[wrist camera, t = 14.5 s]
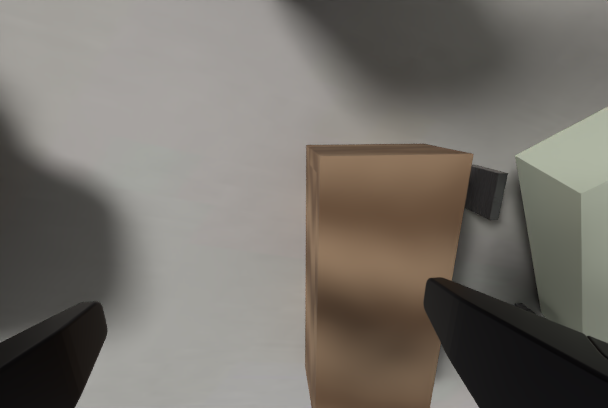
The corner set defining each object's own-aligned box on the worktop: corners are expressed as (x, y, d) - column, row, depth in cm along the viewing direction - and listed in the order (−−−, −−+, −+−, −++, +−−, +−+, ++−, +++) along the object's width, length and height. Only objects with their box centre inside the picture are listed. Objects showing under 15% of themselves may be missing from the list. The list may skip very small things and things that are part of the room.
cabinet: (306, 145, 19) (320, 156, 14) (563, 142, 21) (648, 151, 17) (305, 366, 24) (315, 428, 20) (510, 345, 27) (563, 396, 22)
